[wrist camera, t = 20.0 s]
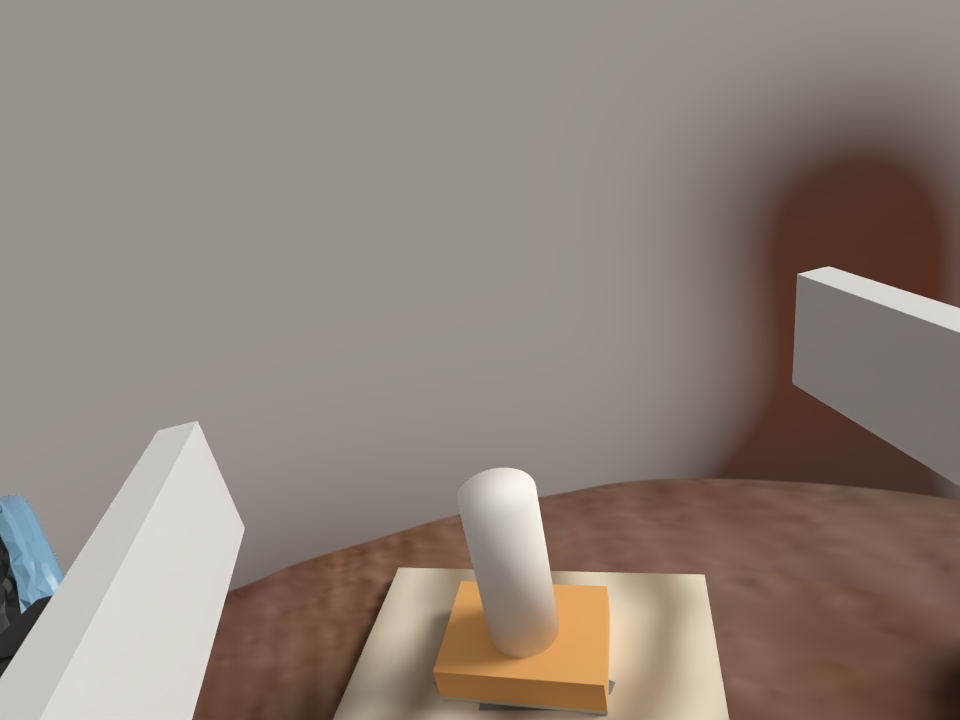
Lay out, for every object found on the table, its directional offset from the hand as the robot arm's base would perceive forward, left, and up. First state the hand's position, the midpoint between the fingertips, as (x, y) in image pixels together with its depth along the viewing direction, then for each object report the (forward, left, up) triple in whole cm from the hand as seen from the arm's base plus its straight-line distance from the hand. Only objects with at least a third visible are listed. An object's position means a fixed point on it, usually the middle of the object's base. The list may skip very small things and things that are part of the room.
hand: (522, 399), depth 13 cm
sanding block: (-6, +14, -27) cm, 31 cm away
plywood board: (-6, +14, -28) cm, 32 cm away
